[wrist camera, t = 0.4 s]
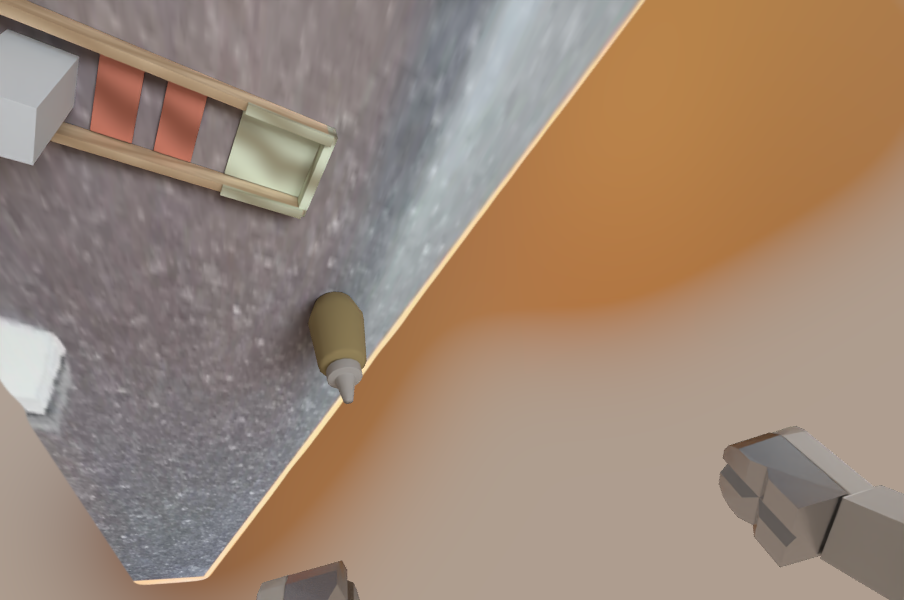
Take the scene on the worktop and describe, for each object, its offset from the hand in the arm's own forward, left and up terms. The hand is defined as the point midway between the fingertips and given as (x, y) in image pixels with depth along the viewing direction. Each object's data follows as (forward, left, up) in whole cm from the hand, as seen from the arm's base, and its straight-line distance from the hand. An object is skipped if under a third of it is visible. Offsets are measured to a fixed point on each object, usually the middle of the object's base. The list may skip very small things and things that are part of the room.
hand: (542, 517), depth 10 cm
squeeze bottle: (+39, +16, -51) cm, 66 cm away
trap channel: (+18, -10, -51) cm, 55 cm away
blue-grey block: (+18, -20, -51) cm, 58 cm away
